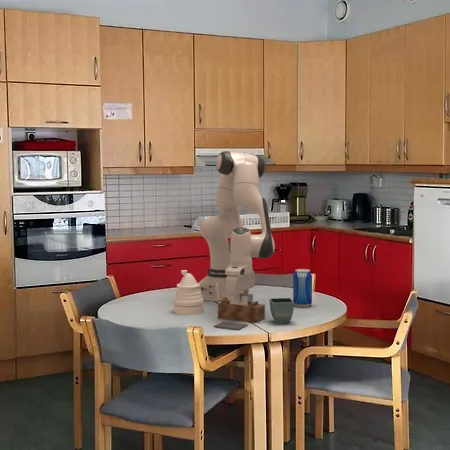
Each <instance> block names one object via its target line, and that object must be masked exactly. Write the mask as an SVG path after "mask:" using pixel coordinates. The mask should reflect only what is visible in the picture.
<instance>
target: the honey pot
mask: <svg viewBox="0 0 450 450" xmlns="http://www.w3.org/2000/svg"><path fill="white" fill-rule="evenodd" d="M180 272H181V275H183V277H182V278H181V280H180V282H179V283H177V284H176V288H177V290H176V292H175V294H174V295H175V296H174V298H173V313H174V314H176V315H181V316H193V315H195V316H196V315H200V314H203V313H204V305H205V304H204V300H203V298H202V295H201V291H200V289H199V287H200V284H198V283H199V282H198V281H197V280H196V278H195V277H194V276H193V274H191V273H190V272H189V273H188V270H186V269H184V270H183V269H182V270H180Z"/></svg>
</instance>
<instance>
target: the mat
mask: <svg viewBox="0 0 450 450" xmlns="http://www.w3.org/2000/svg"><path fill="white" fill-rule="evenodd" d="M248 326H249V325H248V324H247V323H238V322H232V321H221V322H218V323H217V324H215V325H214V324H213V328H214V327H215V328H216V329H217V328H218V329H222V330H223V329H225V330H231V331H232V330H234V331H240V330H242V328H243V329H244V328H246V327H248Z"/></svg>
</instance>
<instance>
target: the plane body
mask: <svg viewBox="0 0 450 450" xmlns="http://www.w3.org/2000/svg"><path fill="white" fill-rule="evenodd" d="M217 319H223V320H230V319H231V320H232V321H239V320H242V321H241V322H248V323H249V322H250V323H256V322H258V323H260V322H262V321H263V320H266V304H264V303H259V301H258V300H257V301H256V300H255V301H253V303H251V304H249V306H240V305H230V300H228V298H227V297H223V298H222V301H221V302H219V303H218V304H217ZM231 320H230V321H231Z"/></svg>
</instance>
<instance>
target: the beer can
mask: <svg viewBox="0 0 450 450" xmlns="http://www.w3.org/2000/svg"><path fill="white" fill-rule="evenodd" d="M292 300H293V301H294V307H297V308H310V307H311V306H312V303H313V274H312V273H311V270H310V269H306V268H298V269H295V270H294V272H293V275H292ZM309 306H310V307H309Z"/></svg>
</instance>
